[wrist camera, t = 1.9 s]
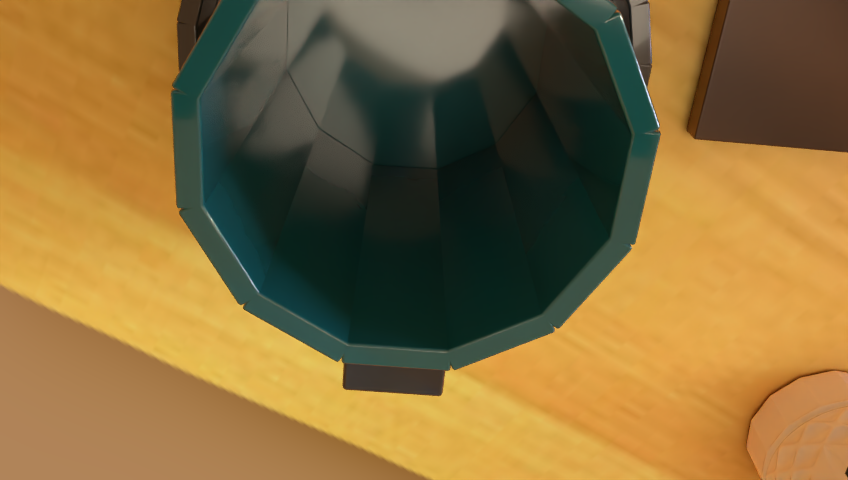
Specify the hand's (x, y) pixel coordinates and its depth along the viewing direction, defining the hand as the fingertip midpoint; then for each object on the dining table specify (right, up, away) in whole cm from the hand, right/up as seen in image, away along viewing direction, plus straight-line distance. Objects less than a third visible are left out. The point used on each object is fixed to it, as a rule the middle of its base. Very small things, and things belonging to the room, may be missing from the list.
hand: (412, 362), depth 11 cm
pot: (0, +9, +17) cm, 19 cm away
